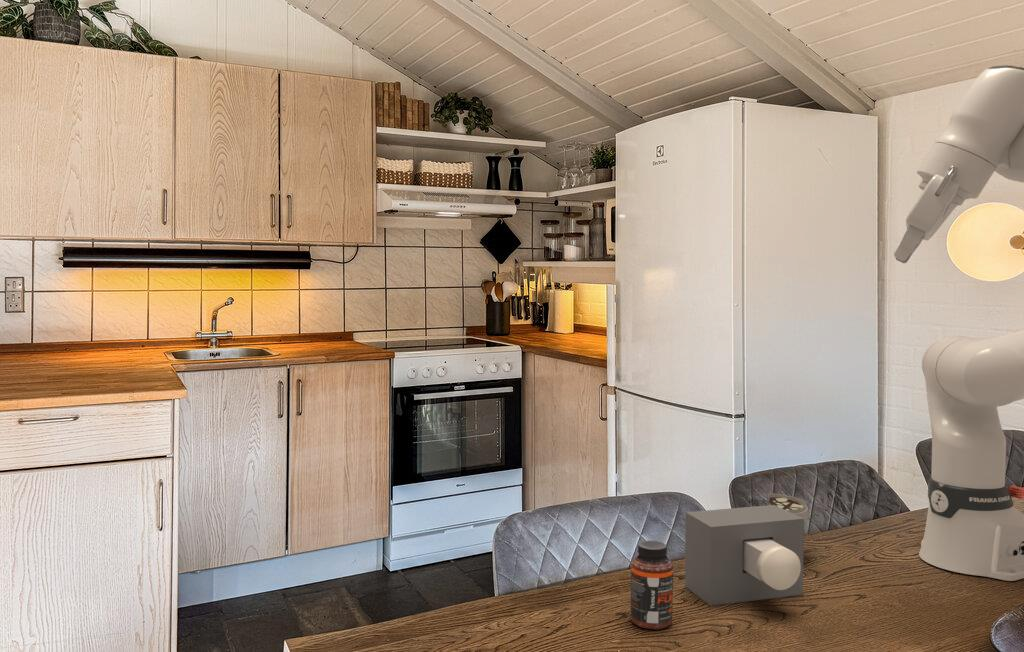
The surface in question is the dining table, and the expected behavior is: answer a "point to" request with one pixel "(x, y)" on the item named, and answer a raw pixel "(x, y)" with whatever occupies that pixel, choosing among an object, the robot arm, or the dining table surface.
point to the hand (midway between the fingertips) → (899, 260)
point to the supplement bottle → (651, 586)
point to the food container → (789, 504)
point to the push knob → (771, 563)
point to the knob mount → (736, 552)
